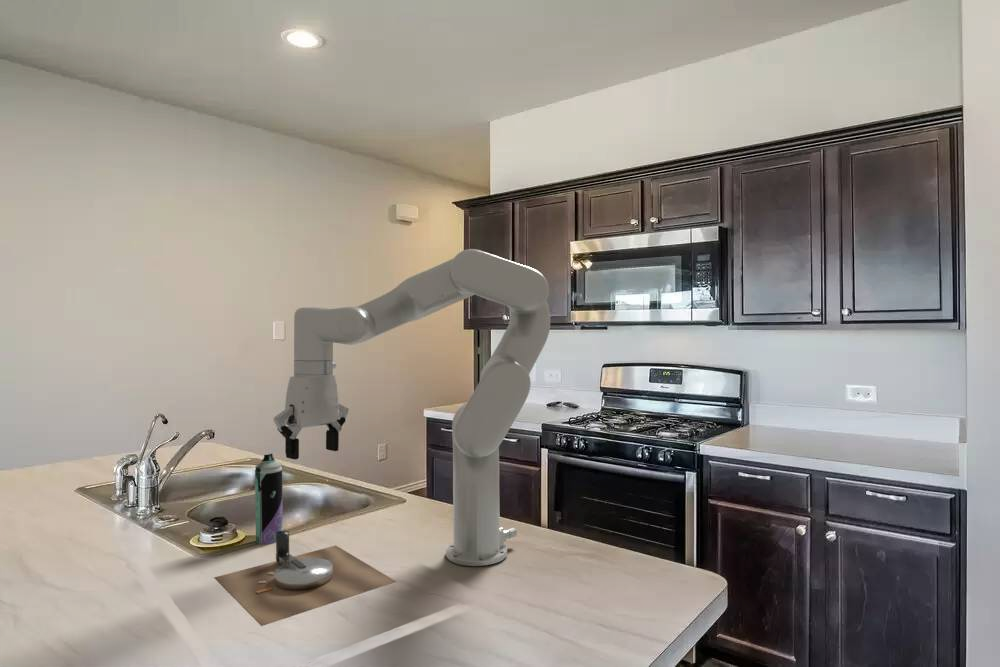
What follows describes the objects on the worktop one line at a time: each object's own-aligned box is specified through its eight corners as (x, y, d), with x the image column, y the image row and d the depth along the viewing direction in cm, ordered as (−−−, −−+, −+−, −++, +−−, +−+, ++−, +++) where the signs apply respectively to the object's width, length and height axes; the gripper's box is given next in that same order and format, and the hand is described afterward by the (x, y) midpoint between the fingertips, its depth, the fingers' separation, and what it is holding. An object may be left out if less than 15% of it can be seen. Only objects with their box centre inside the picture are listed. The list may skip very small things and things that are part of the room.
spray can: (274, 551, 129) (272, 457, 128) (250, 550, 130) (249, 456, 130) (288, 542, 134) (286, 451, 134) (265, 541, 135) (264, 450, 135)
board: (335, 552, 128) (335, 544, 128) (396, 589, 110) (396, 580, 110) (214, 585, 112) (214, 576, 112) (261, 635, 94) (261, 624, 94)
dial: (342, 578, 111) (342, 547, 111) (288, 595, 104) (287, 561, 104) (305, 553, 123) (304, 525, 123) (254, 566, 116) (254, 537, 116)
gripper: (335, 366, 132) (334, 445, 132) (263, 370, 118) (263, 459, 118) (359, 367, 127) (358, 449, 128) (288, 372, 113) (287, 464, 114)
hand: (312, 454), depth 123 cm, fingers open, 9 cm apart
